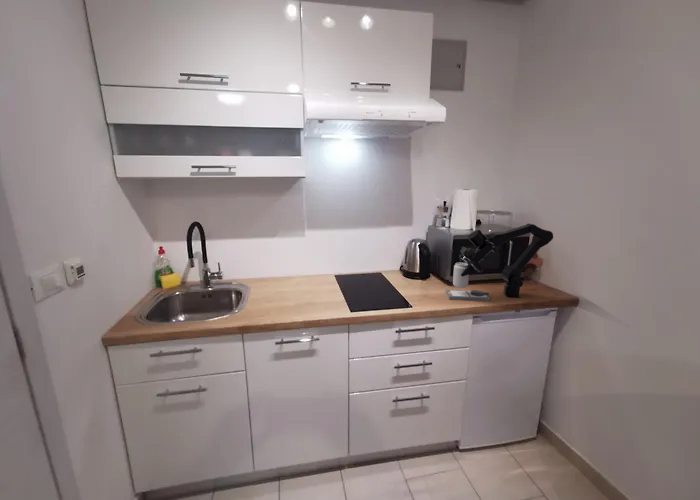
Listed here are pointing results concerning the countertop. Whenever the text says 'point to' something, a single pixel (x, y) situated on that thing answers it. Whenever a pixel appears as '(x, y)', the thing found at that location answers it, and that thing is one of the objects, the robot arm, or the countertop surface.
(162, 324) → the countertop surface
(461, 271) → the can
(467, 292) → the grey flat device
